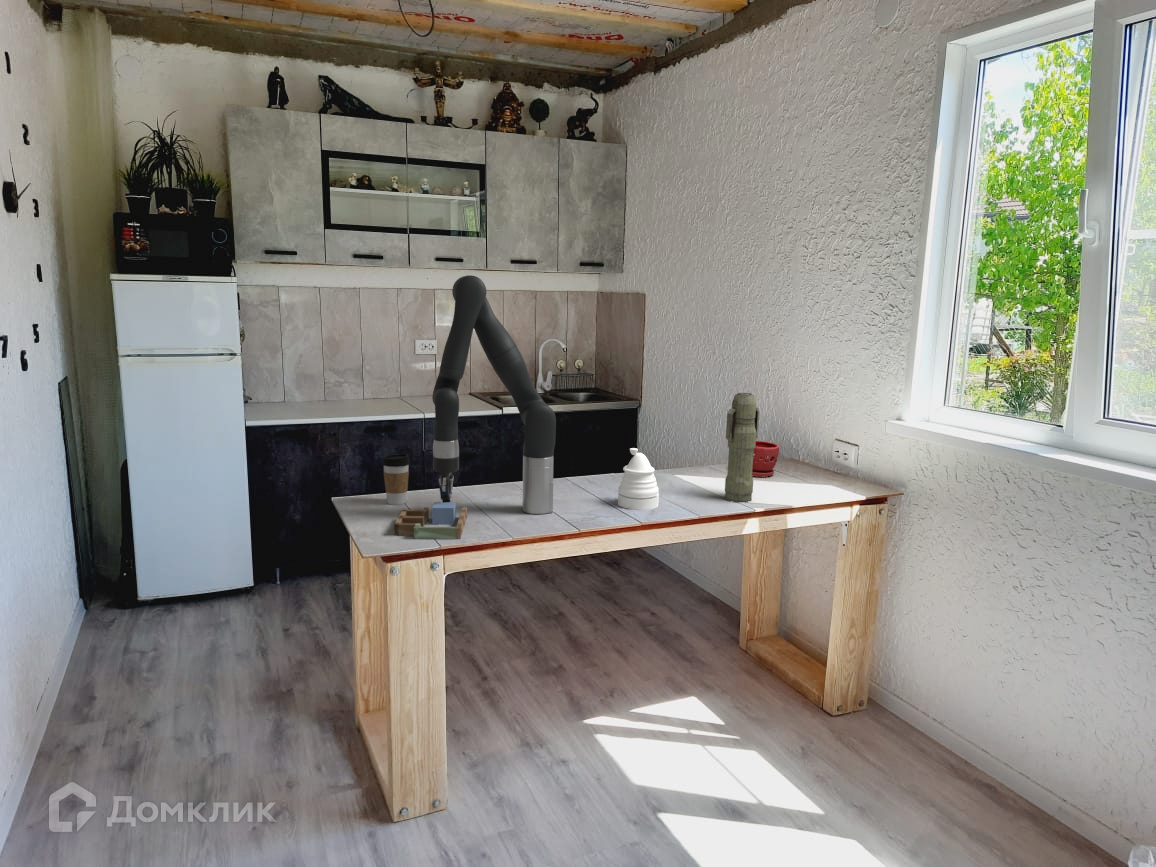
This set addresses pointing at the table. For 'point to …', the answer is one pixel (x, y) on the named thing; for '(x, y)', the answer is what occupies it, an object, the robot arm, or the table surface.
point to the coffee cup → (396, 477)
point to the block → (443, 513)
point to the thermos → (741, 447)
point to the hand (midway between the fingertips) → (446, 511)
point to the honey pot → (638, 484)
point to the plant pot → (764, 458)
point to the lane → (414, 525)
